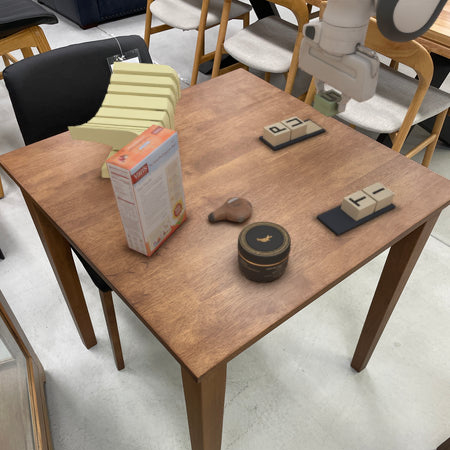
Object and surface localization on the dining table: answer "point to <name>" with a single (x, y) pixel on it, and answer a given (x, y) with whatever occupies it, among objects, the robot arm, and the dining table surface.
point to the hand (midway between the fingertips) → (329, 104)
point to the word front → (358, 208)
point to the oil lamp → (232, 210)
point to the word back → (289, 132)
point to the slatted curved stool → (132, 106)
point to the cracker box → (149, 188)
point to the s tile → (327, 102)
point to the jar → (263, 251)
